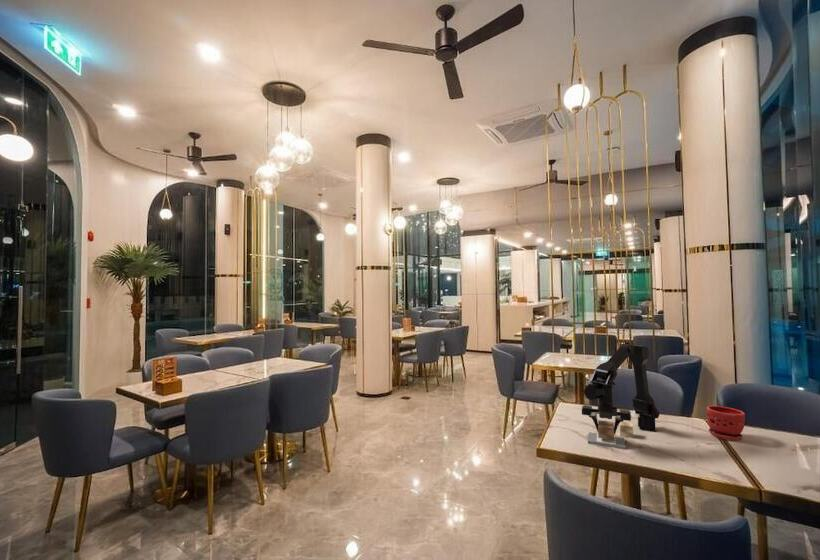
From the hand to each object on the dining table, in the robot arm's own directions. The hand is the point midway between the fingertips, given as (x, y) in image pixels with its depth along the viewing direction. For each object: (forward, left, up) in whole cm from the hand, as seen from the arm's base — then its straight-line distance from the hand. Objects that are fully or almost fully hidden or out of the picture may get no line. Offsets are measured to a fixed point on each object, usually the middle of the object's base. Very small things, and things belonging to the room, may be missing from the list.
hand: (606, 432), depth 166 cm
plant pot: (-47, -29, -4) cm, 55 cm away
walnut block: (0, 0, -1) cm, 1 cm away
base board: (0, 0, -4) cm, 4 cm away
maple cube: (-8, -12, -4) cm, 15 cm away
